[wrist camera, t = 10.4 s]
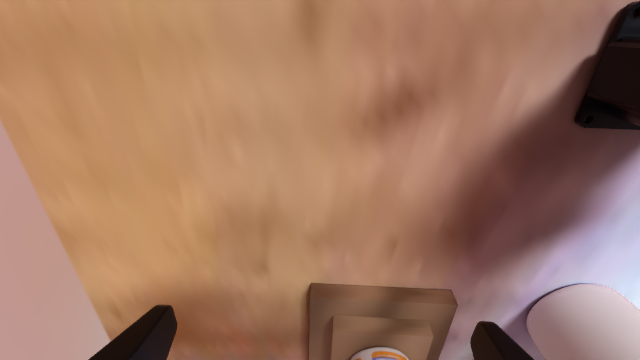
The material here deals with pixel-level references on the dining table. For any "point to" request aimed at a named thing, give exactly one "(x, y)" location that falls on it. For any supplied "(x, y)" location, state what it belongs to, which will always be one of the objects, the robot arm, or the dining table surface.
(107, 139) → the dining table surface
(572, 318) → the pill bottle
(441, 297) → the walnut stand
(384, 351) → the pill bottle
